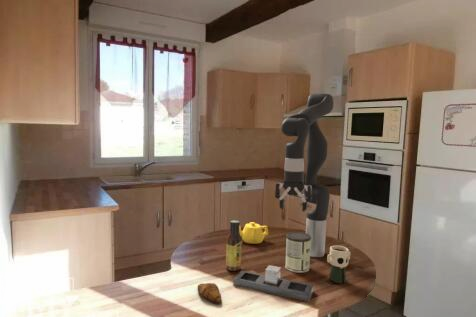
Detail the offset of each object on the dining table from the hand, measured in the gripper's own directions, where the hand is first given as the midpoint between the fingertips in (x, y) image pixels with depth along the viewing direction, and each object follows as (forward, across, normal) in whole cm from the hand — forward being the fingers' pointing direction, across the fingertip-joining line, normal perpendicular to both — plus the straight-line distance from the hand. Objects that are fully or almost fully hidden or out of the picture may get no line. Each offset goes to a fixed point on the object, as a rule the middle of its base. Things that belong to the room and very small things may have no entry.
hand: (292, 210), depth 132 cm
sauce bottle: (+26, +23, +5) cm, 36 cm away
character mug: (+27, -18, -3) cm, 33 cm away
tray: (+26, +3, +15) cm, 30 cm away
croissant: (+26, +22, +30) cm, 45 cm away
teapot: (+27, +28, -31) cm, 50 cm away
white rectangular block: (+26, +4, +15) cm, 30 cm away
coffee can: (+27, -1, -8) cm, 28 cm away
